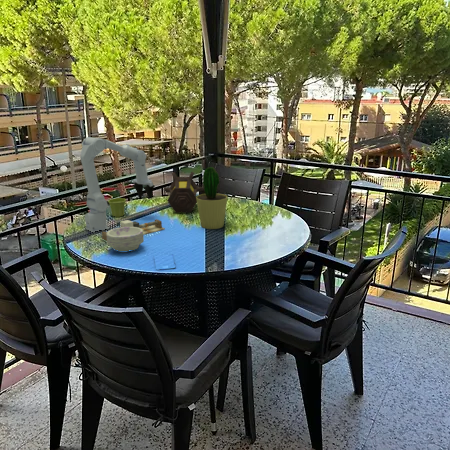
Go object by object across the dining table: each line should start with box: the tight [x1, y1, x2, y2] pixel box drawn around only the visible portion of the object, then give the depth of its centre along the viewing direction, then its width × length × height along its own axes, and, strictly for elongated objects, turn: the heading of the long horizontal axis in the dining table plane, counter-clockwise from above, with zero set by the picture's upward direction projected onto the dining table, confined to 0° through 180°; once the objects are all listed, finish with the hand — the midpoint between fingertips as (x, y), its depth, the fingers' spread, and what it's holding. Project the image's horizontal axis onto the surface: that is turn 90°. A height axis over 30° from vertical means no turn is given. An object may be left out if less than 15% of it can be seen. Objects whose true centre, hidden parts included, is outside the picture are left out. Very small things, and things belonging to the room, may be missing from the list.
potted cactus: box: [196, 166, 228, 230], centre depth 204 cm, size 15×15×30 cm
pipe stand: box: [101, 219, 166, 241], centre depth 196 cm, size 30×8×4 cm, turn 131°
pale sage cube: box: [119, 219, 134, 228], centre depth 193 cm, size 4×5×6 cm
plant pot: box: [107, 197, 127, 218], centre depth 226 cm, size 9×9×9 cm
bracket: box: [132, 220, 140, 228], centre depth 196 cm, size 2×4×4 cm, turn 41°
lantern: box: [163, 171, 204, 214], centre depth 239 cm, size 22×23×30 cm
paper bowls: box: [106, 226, 145, 251], centre depth 177 cm, size 15×15×8 cm
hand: (145, 197), depth 221 cm, fingers open, 7 cm apart
